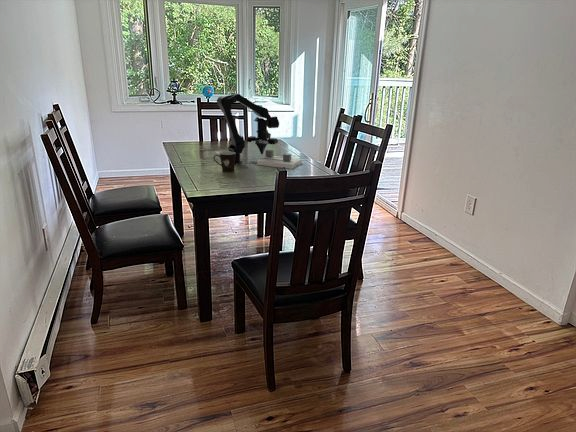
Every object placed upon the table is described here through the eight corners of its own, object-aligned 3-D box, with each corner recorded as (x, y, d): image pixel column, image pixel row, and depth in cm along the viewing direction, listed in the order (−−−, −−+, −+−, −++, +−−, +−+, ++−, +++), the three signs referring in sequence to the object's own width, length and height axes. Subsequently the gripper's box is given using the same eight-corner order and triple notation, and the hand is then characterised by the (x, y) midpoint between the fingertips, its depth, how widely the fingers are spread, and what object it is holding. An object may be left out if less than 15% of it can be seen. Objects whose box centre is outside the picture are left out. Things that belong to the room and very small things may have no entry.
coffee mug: (239, 170, 239) (238, 152, 236) (229, 173, 232) (229, 155, 229) (222, 167, 245) (222, 150, 241) (212, 170, 238) (212, 152, 234)
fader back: (271, 157, 262) (271, 151, 260) (265, 156, 263) (265, 150, 262) (273, 156, 264) (273, 150, 263) (267, 155, 266) (267, 149, 264)
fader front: (289, 161, 251) (289, 155, 250) (282, 160, 253) (282, 154, 252) (291, 160, 254) (291, 154, 253) (284, 159, 256) (284, 153, 254)
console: (291, 168, 246) (292, 164, 245) (257, 164, 254) (257, 160, 253) (301, 163, 260) (301, 158, 259) (268, 159, 268) (268, 155, 267)
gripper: (281, 128, 264) (281, 153, 269) (254, 125, 270) (254, 150, 275) (274, 130, 254) (273, 156, 259) (246, 128, 260) (246, 153, 266)
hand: (262, 154), depth 265 cm, fingers closed
